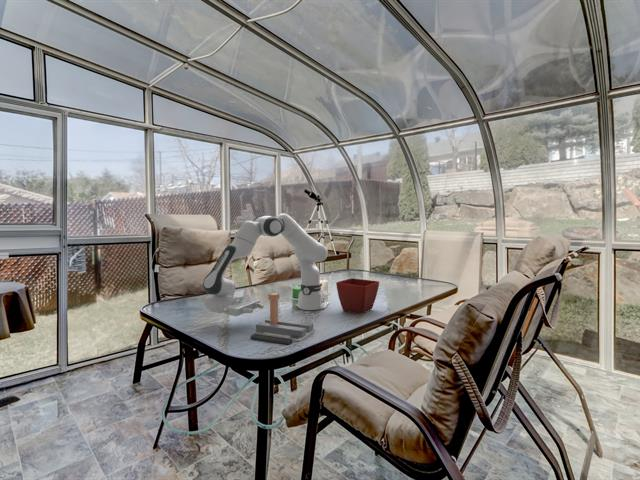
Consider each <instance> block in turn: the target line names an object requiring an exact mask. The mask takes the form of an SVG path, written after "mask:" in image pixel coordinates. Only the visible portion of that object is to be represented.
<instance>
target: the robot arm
mask: <svg viewBox="0 0 640 480" xmlns="http://www.w3.org/2000/svg"><path fill="white" fill-rule="evenodd" d="M279 235H281V236H282V237H283V238H284V239H285V240H286V241H287V242H288V244H290V245H291V246H292V247H293V248H294V249H293V250H294V251H293V252H294V255H295V257H296V258H297V261H298V263H299V268H300V276H301V278H300V279H301V281H300V282H301V283H300V288H299V289H300V291H299V292H298V300H297V303H296V304H295V306H296V307H298V308H299V309H300V310H303V311H304V310H305V311H316V310H325V309H326V308H327V307H328V306H329V305H330V302H329V301H327V300H326V294H325V293H324V292H323V290H322V288H323V283H322V282H321V283H320V281H321V280H320V279H321V278H320V275H321V274H320V273H321V272H320V269H319V268H318V267H317V265H316V263H321V262H323V261H326V259H327V257H328V255H329V254H328V252H329V251H328V248H327V247H326V246H325V245H324V244H322V243H320V242H319V241H317V240H316V239H315V238H314V237H312V236H311V235H309V233H307V232H306V231H305V230H304V229H303V228H302V226H300V224H298V222H297V221H296V220H295V219H294V218H292V217H291V216H290V215H289V214H287V213H283V212H282V213H280V214H278V215H277V216H272V215H260V216H257V217H256V218H255V219H253V220H245V221H244V222H243V223H242V224H241V226H240V227H239V228H238V231H237V232H236V234H235V236H234V239H233V240H232V242H231V243H230V244H229V245H227V246H226V247H225V248H224V249H223V251H222V253H221V254H220V256H219V257H218V259H217V261H216V262H215V264H214V265H213V267H212V268H211V270H210V271H209V273H208V274H207V275H206V276H205V277H204V280H203V281H202V288H203V291H204V292H205V293H206V294H207V296H206V297H205V299H204V307H205V309H207V311H209V312H211V313H216V314H225V315H228V316H232V317H238V316H241V315H244V314H252V313H254V310H255V309H264V304H263V303H261V301H260V300H259V299H256V298H252V297H251V298H250V297H247V296H234V295H235V292H236V283H235V281H234V280H233V279H231V278H228V277H224V274H225V272H226V271H227V270H228V268H229V266H230V264H231V263H232V262H233V261H235V260H237V259H242V258H245V257H248V256H249V255H251V253H252V252H253V250H254V247H255V245H256V243H257V240H258V239H259V238H260V237H261V236H263V237H277V236H279Z"/></svg>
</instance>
